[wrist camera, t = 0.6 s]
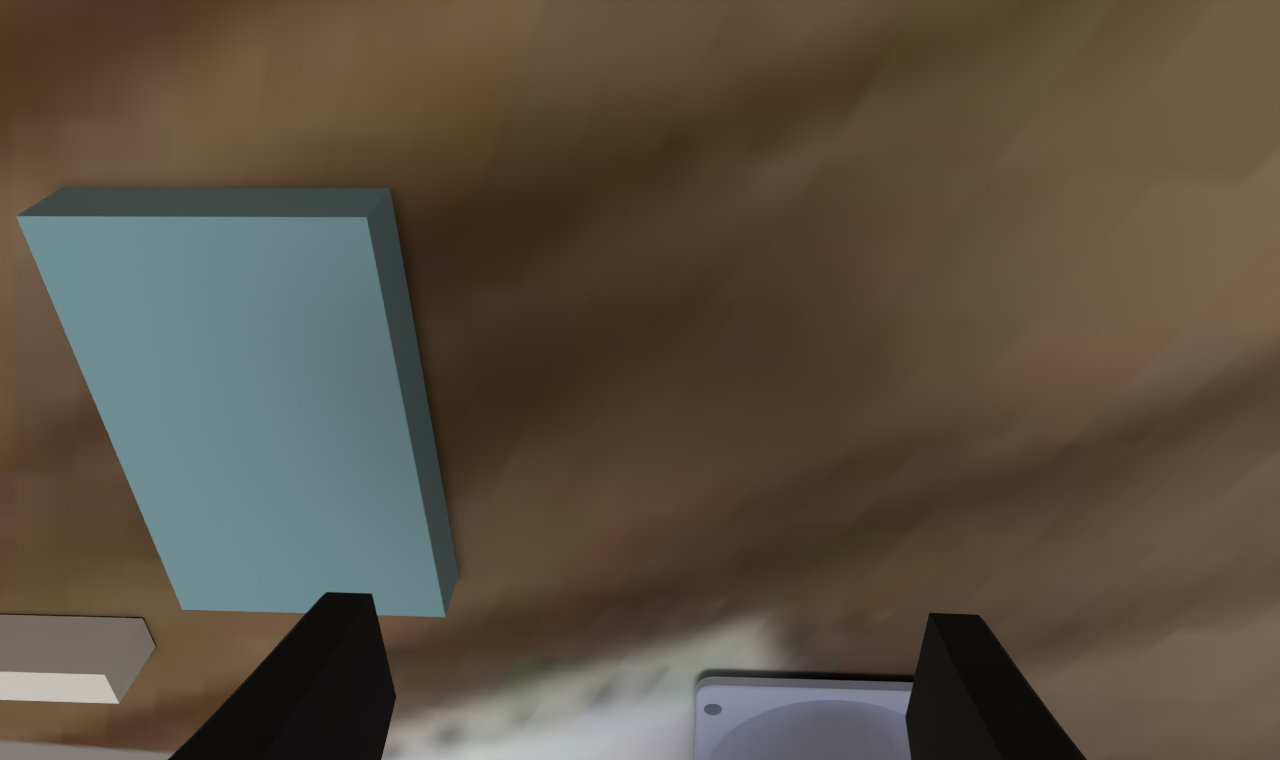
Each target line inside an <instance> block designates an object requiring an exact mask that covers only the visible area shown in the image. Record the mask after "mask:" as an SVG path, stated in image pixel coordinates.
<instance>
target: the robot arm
mask: <svg viewBox="0 0 1280 760" xmlns="http://www.w3.org/2000/svg"><path fill="white" fill-rule="evenodd" d="M395 699H396V695H395V690H394V686H393V682H392V677H391V673H390V669H389V664H388V660H387V656H386V651H385V647H384V643H383V638H382V634H381V630H380V626H379V621H378V617H377V613H376V608H375V604H374V600H373V595H372V593H343V592H326V593H325V594H324V595H323V596H322V597H320V598H319V600H318V601H317V602H316V603H315V604H314V605H313V606H312V607H311V608H310V609H309V611H308V612H307V613H306V614H305V615H304V616H303V617H302V618H301V619H300V621H299V622H298V623H297V624H296V625H295V626H294V627H293V628H292V630H291V631H290V632H289V633H288V634H287V635H286V636H285V637H284V639H283V640H282V641H281V642H280V643H279V644H278V645H277V646H276V647H275V649H274V650H273V651H272V652H271V653H270V654H269V655H268V656H267V657H266V658H265V660H264V661H263V662H262V663H261V664H260V665H259V666H258V667H257V668H256V669H255V670H254V672H253V673H252V674H251V675H250V676H249V677H248V678H247V679H246V680H245V681H244V682H243V683H242V684H241V686H240V687H239V688H238V689H237V690H236V691H235V692H234V693H233V694H232V695H231V696H230V697H229V698H228V699H227V700H226V701H225V702H224V703H223V704H222V705H221V707H220V708H219V709H218V710H217V711H216V712H215V713H214V714H213V715H212V716H211V717H210V718H209V719H208V720H207V721H206V722H205V723H204V724H203V725H202V726H201V727H200V729H199V730H198V731H197V732H196V733H195V734H194V735H193V736H192V737H191V738H190V739H189V740H188V741H187V742H186V743H185V744H184V745H182V746H181V747H180V748H179V749H178V750H177V751H176V752H175V753H174V754H173V755H172V756H171V757H170V758H169V759H168V760H381V758H382V754H383V750H384V746H385V742H386V738H387V734H388V729H389V725H390V721H391V716H392V712H393V708H394V703H395ZM694 760H1087V759H1086V758H1085V757H1084V755H1083V754H1082V753H1081V752H1080V750H1079V749H1078V748H1077V746H1076V745H1075V744H1074V743H1073V741H1072V740H1071V739H1070V738H1069V736H1068V735H1067V734H1066V733H1065V731H1064V730H1063V729H1062V727H1061V726H1060V725H1059V723H1058V722H1057V721H1056V719H1055V718H1054V717H1053V716H1052V714H1051V713H1050V712H1049V710H1048V709H1047V708H1046V706H1045V705H1044V703H1043V702H1042V701H1041V699H1040V698H1039V697H1038V695H1037V694H1036V693H1035V691H1034V690H1033V689H1032V687H1031V686H1030V684H1029V683H1028V682H1027V680H1026V679H1025V678H1024V676H1023V675H1022V673H1021V672H1020V671H1019V669H1018V668H1017V666H1016V665H1015V664H1014V662H1013V661H1012V659H1011V658H1010V657H1009V655H1008V654H1007V652H1006V651H1005V650H1004V648H1003V647H1002V645H1001V644H1000V642H999V641H998V640H997V638H996V637H995V635H994V634H993V632H992V631H991V629H990V628H989V627H988V625H987V624H986V622H985V621H984V620H983V619H982V618H981V617H980V616H979V615H969V614H941V613H929V617H928V622H927V626H926V630H925V634H924V639H923V643H922V647H921V652H920V656H919V660H918V665H917V669H916V673H915V678H914V682H886V681H852V680H818V679H784V678H750V677H716V676H713V677H706V678H704V679H702V680H700V681H699V682H698V683H697V686H696V705H695V752H694Z"/></svg>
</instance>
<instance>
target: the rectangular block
mask: <svg viewBox="0 0 1280 760" xmlns="http://www.w3.org/2000/svg"><path fill="white" fill-rule="evenodd" d="M16 217H17V219H18V221H19V224H20V226H21V229H22V231H23V233H24V236H25V238H26V240H27V243H28V245H29V247H30V250H31V252H32V255H33V257H34V259H35V262H36V264H37V266H38V269H39V271H40V274H41V276H42V278H43V281H44V283H45V285H46V288H47V290H48V292H49V295H50V297H51V300H52V302H53V304H54V307H55V309H56V311H57V314H58V316H59V319H60V321H61V323H62V326H63V328H64V330H65V333H66V335H67V337H68V340H69V342H70V345H71V347H72V349H73V352H74V354H75V356H76V359H77V361H78V363H79V366H80V368H81V371H82V373H83V375H84V378H85V380H86V382H87V385H88V387H89V390H90V392H91V394H92V397H93V399H94V401H95V404H96V406H97V408H98V411H99V413H100V416H101V418H102V420H103V423H104V425H105V427H106V430H107V432H108V435H109V437H110V439H111V442H112V444H113V446H114V449H115V451H116V453H117V456H118V458H119V461H120V463H121V465H122V468H123V470H124V472H125V475H126V477H127V480H128V482H129V484H130V487H131V489H132V491H133V494H134V496H135V498H136V501H137V503H138V506H139V508H140V510H141V513H142V515H143V517H144V520H145V522H146V525H147V527H148V529H149V532H150V534H151V536H152V539H153V541H154V543H155V546H156V548H157V551H158V553H159V555H160V558H161V560H162V562H163V565H164V567H165V570H166V572H167V574H168V577H169V579H170V581H171V584H172V586H173V588H174V591H175V593H176V596H177V598H178V600H179V603H180V605H181V607H182V609H183V610H218V611H252V612H287V613H307V612H308V611H309V609H310V608H311V607H312V606H313V605H314V604H315V603H316V602H317V601H318V600H319V598H320V597H322V596H323V595H324V594H325V593H326V592H343V593H372V595H373V600H374V604H375V608H376V613H377V615H391V616H425V617H446V614H447V610H448V607H449V604H450V601H451V597H452V594H453V591H454V588H455V584H456V581H457V578H458V569H457V564H456V558H455V552H454V547H453V541H452V535H451V530H450V524H449V518H448V513H447V507H446V501H445V496H444V490H443V484H442V479H441V473H440V468H439V462H438V456H437V451H436V445H435V439H434V434H433V428H432V422H431V417H430V411H429V405H428V400H427V394H426V389H425V383H424V377H423V372H422V366H421V360H420V355H419V349H418V343H417V338H416V332H415V326H414V321H413V315H412V309H411V304H410V298H409V293H408V287H407V281H406V276H405V270H404V264H403V259H402V253H401V247H400V242H399V236H398V230H397V225H396V219H395V213H394V208H393V202H392V197H391V191H390V188H61V189H60V190H58V191H56V192H55V193H53V194H52V195H50V196H48V197H47V198H45V199H43V200H42V201H40V202H39V203H37V204H35V205H34V206H32V207H30V208H29V209H27V210H26V211H24V212H22V213H21V214H19V215H17V216H16Z"/></svg>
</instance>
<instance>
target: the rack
mask: <svg viewBox="0 0 1280 760" xmlns="http://www.w3.org/2000/svg"><path fill="white" fill-rule="evenodd" d="M154 648H155V644H154V642H153V640H152V638H151V636H150V633H149V631H148V629H147V627H146V625H145V622H144V620H143V618H109V617H72V616H35V615H0V700H27V701H58V702H89V703H120V701H121V700H122V698H123V697H124V695H125V694H126V692H127V691H128V689H129V687H130V686H131V684H132V683H133V681H134V680H135V678H136V676H137V675H138V673H139V672H140V670H141V669H142V667H143V665H144V664H145V662H146V661H147V659H148V658H149V656H150V655H151V653H152V651H153V650H154Z"/></svg>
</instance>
